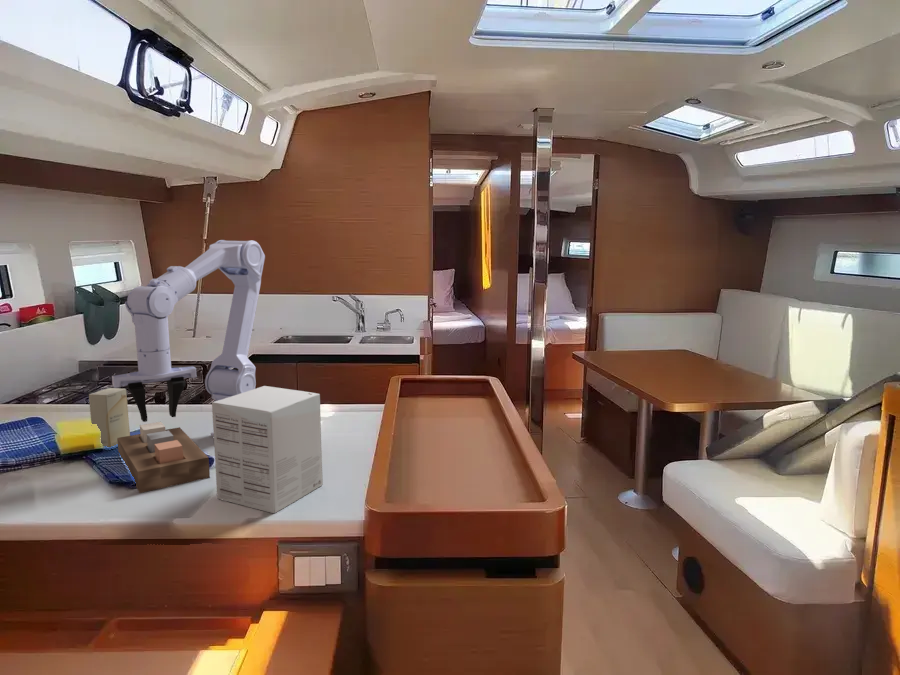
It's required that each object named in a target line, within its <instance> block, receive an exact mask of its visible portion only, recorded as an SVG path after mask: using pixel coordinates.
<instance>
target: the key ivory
mask: <svg viewBox="0 0 900 675" xmlns="http://www.w3.org/2000/svg"><path fill="white" fill-rule="evenodd" d="M165 430H166V426H165V424H164V423H163V422H161V421H158V422H156V421H155V422H151V423H145V424H139V432H140V433H139V434H140V435H141V441H142V443H146V442H147V434H151V433H156V432H162V431H165Z"/></svg>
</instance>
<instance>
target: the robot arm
mask: <svg viewBox="0 0 900 675" xmlns="http://www.w3.org/2000/svg"><path fill="white" fill-rule="evenodd" d="M265 260H266V255H265V253H264V251H263V249H262V247H261V245H260V244H259V242H257V241H256V240H225V239H220V240H217V241H216V242H214V243H211V244H209V247H208V249H207V250H205V251H204V252H203V253H202V254H201V255H199V256H198V257H197V258H196V259H194V260H193V261H192V262H190V263H189V264H188V265H186V266H185V267H184V266H181V265H178V266H177V265H170V266H168V267H167V268H166V272H165V273H163V274H162V275H160V276H159V277H157V278H151V279H150V280H148V281H149V283H148V284H147V285H146V286H145V285H144V286H143V285H139V286H135V287H134V288H132V290H131V291H130V292H129V293H128V295H127V299H126V301H124V306H125V309H126V311H127V312H128V313H129V314H130V315H131V322H132V323H133V325H134V331H135V332H134V334H135V344H136V345H135V346H136V357H137V369H138V371H134V372H133V371H132V372H129V373H122V374H117V375H116V374H115V375H111V383H112V388H121V387H126V389H127V390H128V391H129V393H130V395H131V396H132V398H133V400H134V402H135V404H136V406H137V408H138V412H139V414H140V419H141V421H142V422H143V423H146V422H148V413H147V406H146V389H145V387H144V386H145V385H143V384H151V383H157V382H165V381H166V387H167V396H168V412H169V416H170V417H172V418H176V416H177V410H178V409H177V408H178V404H179V400H180V398H181V395H182V393H183V390H184V389H185V386H186V380H185V379H187V378H188V379H189V378H191V379H197V377H198V376H197V368H196V367H195V366H193V365H191V366H183V367H182V366H181V367H172V360H171V346H170V332H169V330H170V328H169V319H168V318H169V316H170V315H171V314H172V313H173V311H174V308H175V305H176V304H178V302H179V301H181V300H182V299H183V298H184V297H186V296H188V295H189V294H191V293H192V292H194V291H195V289H196V287H197V281H199V280H201V279H203V278H205V277H207V276H208V275H209V274H212V273H213V272H215V271H216V270H220V271H221V272H222V273H223V275H225V276H226V277H227V278H228V279H229V280H230V281H231V282H232V283H233V285H234V288H233V294H232V299H231V304H230V310H229V316H228V321H227V325H226V331H225V337H224V341H223V348H222V352H221V354H219V355H218V356H217V357H215V359H213V360H212V361H211V365H210V368H209V371H208V372H207V373H206V375H205V379H204V385H205V389H206V391H207V393H209V394H210V395H211V399H212V400H214V401H213V402H215V401H218V400H222V399H225V398H228V397H231V396H235V395H238V394H241V393H244V392H247V391H250V390H253V389H256V385H257V382H256V370H257V369H256V368H257V367H256V366H255V364H254V363H253V362H252V361H251V360H250V359H249V357H248V356H249V349H250V346H251V339H252V334H253V327H254V323H255V318H256V311H257V306H258V300H259V296H260V289H261V286H262V285H261V284H262V275H263V270H264V264H265ZM210 435H211V437H213V438H214V431H212V432H210Z"/></svg>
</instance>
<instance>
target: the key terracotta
mask: <svg viewBox="0 0 900 675" xmlns="http://www.w3.org/2000/svg"><path fill="white" fill-rule="evenodd" d="M154 446H155V459H156V462H157V464H163V463H168V462H173V461H178V460H183V447H182V445H181V444H180V443H179V441H178V440H174V441H169V442H163V443H158V444H154Z"/></svg>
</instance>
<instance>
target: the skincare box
mask: <svg viewBox="0 0 900 675" xmlns="http://www.w3.org/2000/svg"><path fill="white" fill-rule="evenodd" d="M88 401H89V403H88V404H89V411H90V412H89V414H90V423H92V424H97V426H98V428H99V429H100V431H101V443H102V444H103V446H107V447H111V446H114V445H116V444H118V442H117V438H120V437H126V436H131V431H130V420H129V419H130V418H129V410H128V409H129V407H128V397H127V388H121V387H118V388H114V387H107V388H105V389H104V388H103V389H101V390H98V391H96V392H93V393H88Z"/></svg>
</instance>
